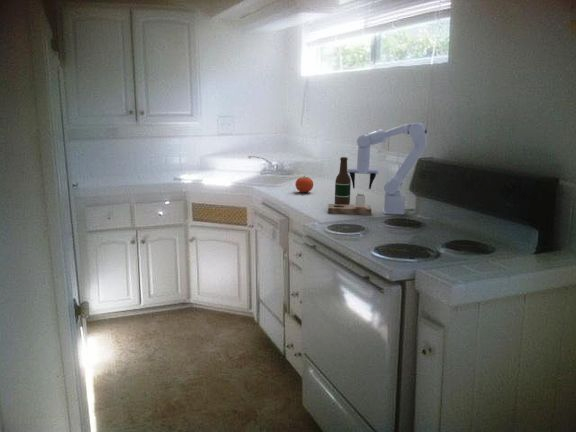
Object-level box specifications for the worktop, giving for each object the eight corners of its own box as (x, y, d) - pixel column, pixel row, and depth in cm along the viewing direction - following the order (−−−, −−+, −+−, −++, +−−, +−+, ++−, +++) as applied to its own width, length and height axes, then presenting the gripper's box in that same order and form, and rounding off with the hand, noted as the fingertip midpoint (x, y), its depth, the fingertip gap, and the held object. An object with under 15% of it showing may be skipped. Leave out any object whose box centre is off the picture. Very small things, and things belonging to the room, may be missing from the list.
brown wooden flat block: (369, 210, 252) (369, 204, 252) (371, 214, 242) (371, 208, 242) (328, 209, 254) (328, 203, 253) (328, 213, 244) (328, 207, 243)
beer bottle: (341, 202, 271) (342, 156, 266) (352, 204, 266) (355, 157, 261) (331, 204, 266) (333, 157, 261) (343, 206, 261) (345, 158, 255)
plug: (364, 205, 249) (364, 193, 248) (364, 207, 245) (365, 194, 244) (355, 205, 249) (356, 193, 248) (356, 207, 245) (356, 194, 244)
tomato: (313, 194, 294) (313, 176, 291) (295, 194, 294) (295, 176, 292) (312, 191, 304) (313, 174, 301) (295, 190, 304) (295, 173, 302)
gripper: (348, 160, 245) (346, 189, 248) (379, 161, 244) (377, 190, 247) (347, 159, 252) (346, 186, 255) (378, 160, 251) (376, 188, 254)
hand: (361, 188), depth 251 cm, fingers open, 7 cm apart
